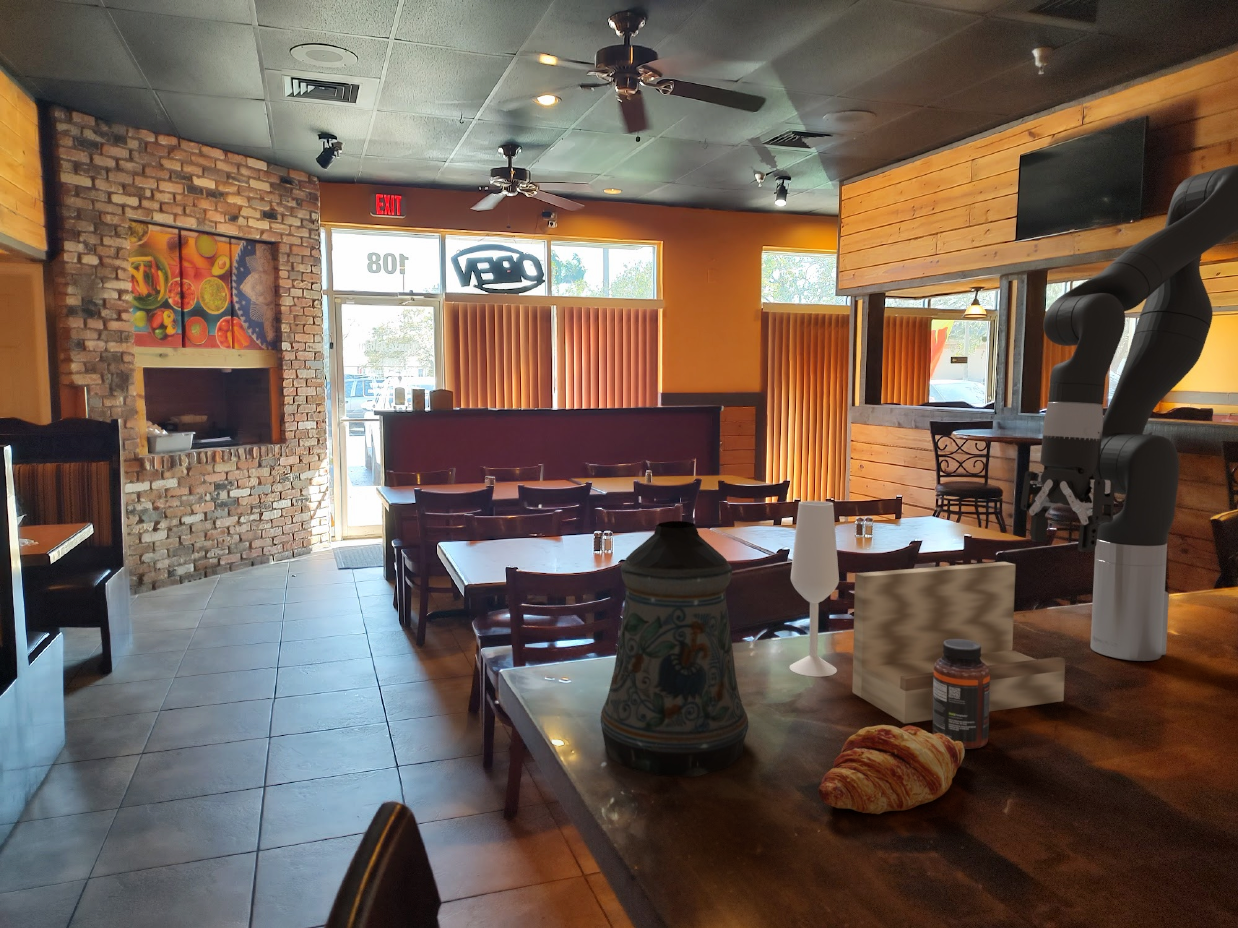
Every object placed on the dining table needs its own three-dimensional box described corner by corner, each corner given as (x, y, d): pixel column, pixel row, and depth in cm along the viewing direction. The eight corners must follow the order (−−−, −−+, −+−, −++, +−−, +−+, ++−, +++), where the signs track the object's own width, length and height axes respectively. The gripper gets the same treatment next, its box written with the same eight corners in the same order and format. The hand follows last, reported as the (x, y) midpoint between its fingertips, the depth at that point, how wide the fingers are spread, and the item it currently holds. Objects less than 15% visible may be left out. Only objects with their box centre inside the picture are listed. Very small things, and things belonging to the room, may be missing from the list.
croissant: (934, 784, 92) (907, 711, 95) (1013, 772, 85) (982, 693, 87) (801, 839, 80) (774, 754, 83) (879, 831, 73) (848, 737, 75)
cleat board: (1000, 673, 118) (1004, 561, 117) (1063, 700, 108) (1068, 578, 106) (852, 692, 111) (855, 573, 109) (904, 723, 100) (908, 592, 99)
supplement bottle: (978, 730, 98) (981, 636, 97) (995, 752, 92) (999, 652, 91) (925, 728, 99) (928, 635, 98) (939, 750, 93) (943, 650, 92)
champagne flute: (837, 663, 123) (840, 500, 121) (837, 678, 116) (840, 506, 114) (790, 659, 124) (792, 499, 122) (788, 674, 118) (790, 505, 116)
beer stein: (623, 787, 84) (622, 542, 82) (580, 715, 103) (579, 514, 101) (773, 767, 89) (776, 534, 87) (706, 702, 107) (707, 509, 105)
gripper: (1135, 438, 115) (1123, 555, 116) (1053, 434, 129) (1043, 538, 130) (1093, 436, 113) (1081, 555, 114) (1013, 431, 126) (1003, 537, 127)
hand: (1060, 546), depth 122 cm, fingers open, 8 cm apart
